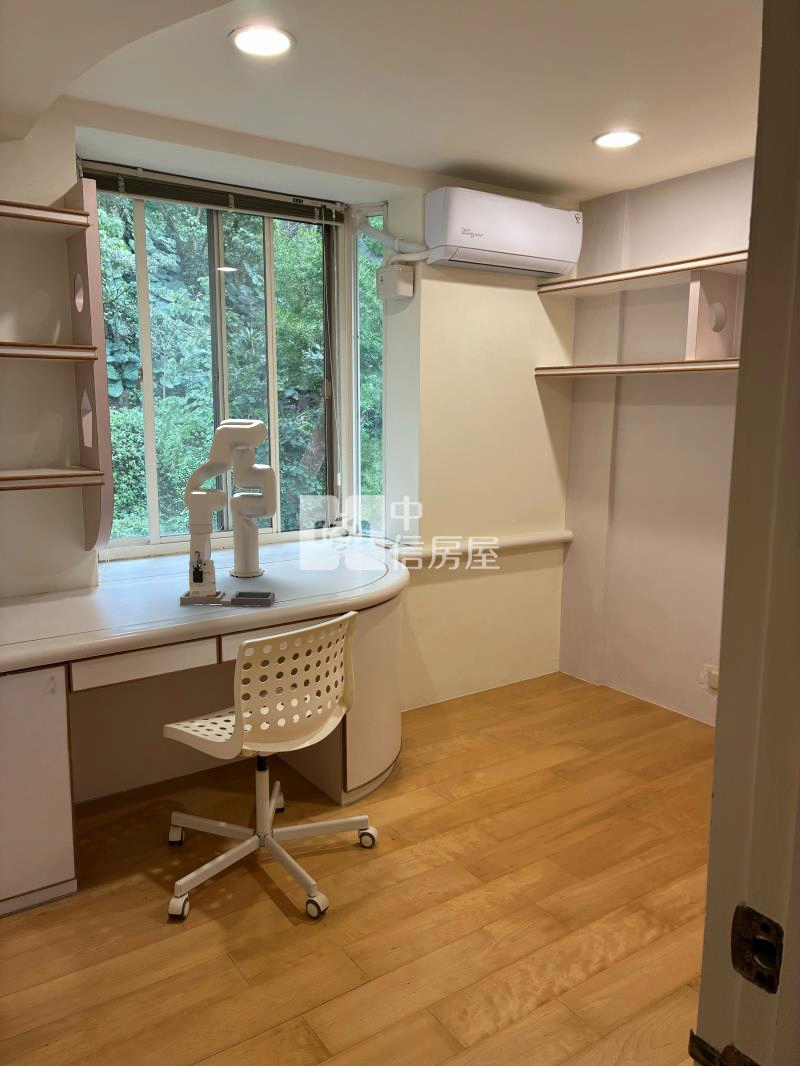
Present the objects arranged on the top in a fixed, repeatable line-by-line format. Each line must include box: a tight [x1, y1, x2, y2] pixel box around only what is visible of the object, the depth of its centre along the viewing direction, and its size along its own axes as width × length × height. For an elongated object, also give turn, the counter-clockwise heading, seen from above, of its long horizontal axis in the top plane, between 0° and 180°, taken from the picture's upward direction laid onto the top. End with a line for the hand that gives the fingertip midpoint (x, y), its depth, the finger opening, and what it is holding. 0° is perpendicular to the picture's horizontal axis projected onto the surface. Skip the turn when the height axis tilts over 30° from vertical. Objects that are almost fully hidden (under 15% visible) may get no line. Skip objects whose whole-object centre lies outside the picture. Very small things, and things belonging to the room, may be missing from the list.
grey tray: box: [219, 591, 276, 607], centre depth 267 cm, size 9×17×2 cm, turn 89°
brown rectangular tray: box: [179, 589, 226, 605], centre depth 267 cm, size 9×13×2 cm
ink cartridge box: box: [188, 559, 217, 597], centre depth 266 cm, size 9×5×15 cm, turn 101°
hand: (202, 579), depth 266 cm, fingers open, 9 cm apart
